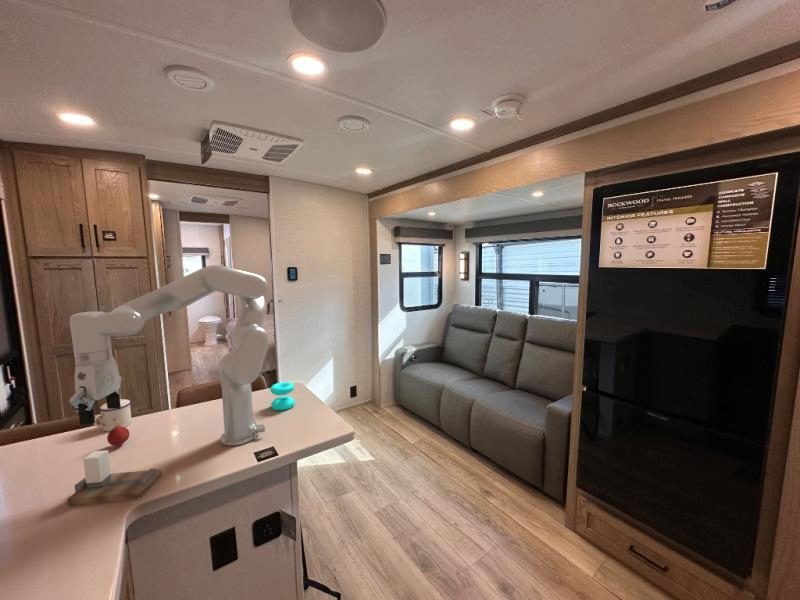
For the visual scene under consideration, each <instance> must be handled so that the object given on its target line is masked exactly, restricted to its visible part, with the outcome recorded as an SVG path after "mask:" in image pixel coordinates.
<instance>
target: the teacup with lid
mask: <svg viewBox="0 0 800 600" xmlns="http://www.w3.org/2000/svg"><path fill="white" fill-rule="evenodd" d="M120 404H121V407H120V408H114V409H108V408H107V402H105V403H104V404H102V405H101V406H100V407H99V410H100V413H99V414H96V415H94V416H95V423H94V424H93V426H94V427H97V428H102V431H104V432H110V431H111V430H112V429H113V428H114V427H115V426H116V425H117V424H120V426H122V427H125V428H127V427H129V426H130V425H131V424H132V414H131V413H132V412H131V404H132V403H131V401H130V400H129V399H123V398H120ZM99 418H101V424H98V422H97V419H99ZM129 419H130V420H129ZM118 421H119V422H118ZM128 425H129V426H128ZM126 426H127V427H126Z"/></svg>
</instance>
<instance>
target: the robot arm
mask: <svg viewBox="0 0 800 600" xmlns="http://www.w3.org/2000/svg"><path fill="white" fill-rule="evenodd" d="M268 287H269V286H268V282H267V280H266V278H265V277H263V276H261V275H259V274H255V273H252V272H249V271H244V270H240V269H237V268H233V267H229V266H224V265H219V264H216V265H215V264H214V265H208V266H205V267H202V268H199V269H198V270H196V271H193V272H192V273H191V272H190V273H189V274H188V275H185V276H183V277H181V278H179V279H176V280H174V281H173V282H170V283H167V284H165V285H163V286H161V287H159V288H156V289H154V290H153V291H151V292H147V293H146V294H143V295H142V296H139V297H137V298H134V299H133V300H130V301H128V302H126V303H124V304H122V305H120V306H117V307H116V308H114V309H112V310H111V311H110V312H109V311H108V312H104V311H100V310H99V311H97V310H96V311H95V310H94V311H83V312H78V313H77V312H76V313H75V314H74V313H73V314H72V315H71V316H70V318H69V325H70V332H71V333H70V334H71V341H72V349H73V355H74V361H75V362H74V363H75V367H74V389H75V391H74V392H75V393H74V394H73V395H72V396H71V397H70V399H69V401H68V402H69V403H70V406H72V408H73V409H74V410H75V411H76V412H77V413H78V419H79V425H80V426H83V425H84V426H86V425H87V426H88V425H94V423H95V416H96V415H95V409H94V408H93V405H94V403H95V401H100V400H103V399H104V398H105V400H106V401H105V402H106V403H107V408H108V409H114V408H120V407H121V404H120V399H121V398H120V393H121V387H122V380H123V376H121V375H120V373H119V369H118V364H117V362H116V360H115V357H114V356H113V351H112V340H111V337H122V336H123V337H124V336H125V337H126V336H132V335H135V334H138V333H139V332H141V331H142V329H143V328H144V326H145V322H147V321H149V320H151V319H152V318H155V317H157V316H159V315H163V314H166V313H167V312H168V313H169V312H173V311H178V310H181V309H182V310H183V309H185V308H186V307H189V306H190V305H192V304H194V303H196V302H198V301H200V300H201V299H204V298H206V297H207V296H210V295H211V294H213V293H216V292H219V293H224V294H227V295H232V296H233V295H234V296H237V297H238V298H239V301H240V310H239V315H238V317H237V320H236V323H235V325H234V328H233V331H232V333H231V338H230V339H231V342H232V344H233V346H235V347H236V348H237V351H231V352H230V351H229V352H228V353H226V354H224V356H222V358H221V359H220V360H219V363H218V374H219V381H220V386H221V395H222V397H221V398H222V399H221V400H222V413H223V429H224V432H223V434H221V436H220V437H219V442H220V444H221V445H223V446H227V447H229V446H230V447H236V446H241V445H244V444H246V443H247V444H248V443H249V442H251V441H252V440H255V439H256V438H257V437H258V435H259V433H265V432H266V426H265V424H263V423H262V424H257V420H254V414H253V412H254V411H253V399H252V398H253V393H252V383H254V382H255V380H256V379H257V378H258V376H259V375H260V372H261V370H262V367H263V363H264V360H265V358H266V355H267V352H268V348H269V343H270V338H269V333H268V332H267V331H266V329H264V328H263V324H264V319H265V316H266V312H267V311H266V310H267V302H266V299H265V295H266V294H267V292H268ZM85 403H87V404H85Z"/></svg>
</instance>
